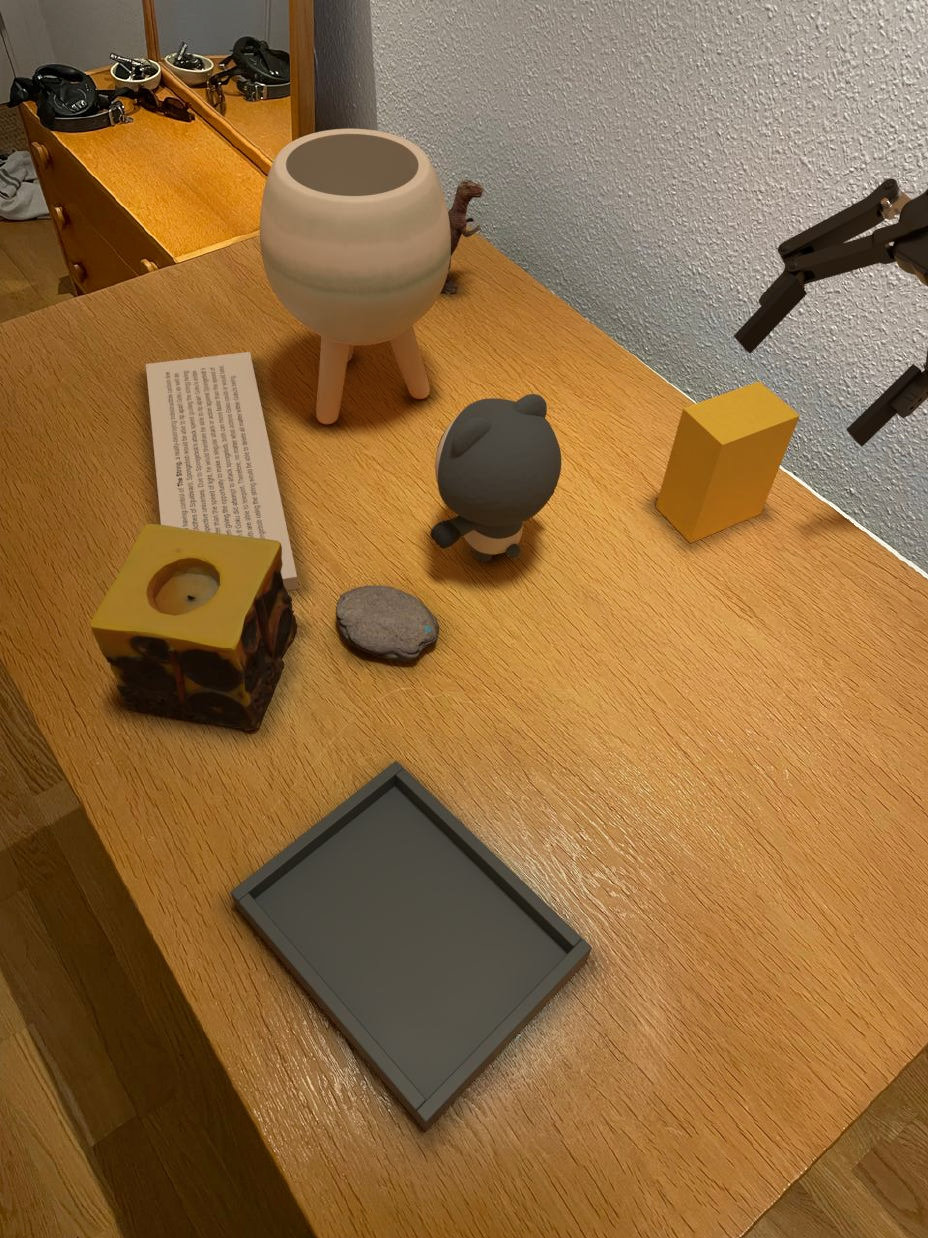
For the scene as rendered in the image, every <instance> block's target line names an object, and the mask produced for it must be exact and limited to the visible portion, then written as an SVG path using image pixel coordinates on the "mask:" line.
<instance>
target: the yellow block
mask: <svg viewBox="0 0 928 1238" xmlns="http://www.w3.org/2000/svg"><path fill="white" fill-rule="evenodd" d="M800 417H801V416H800V414H799V413H797V411H795V410H794V409H793V408H792V407H791V406H790V405H788V404H787V403H786V402H784V401H783V400H782V399H781V398H780V397H779V396H777V395H776V394H775V393H774V392H773V391H772V390H770V389H769V388H768V387H767V386H766V385H764V383H762V382H761V381H755V382H753V383H750V384H748V385H744V386H742V387H738V388H736V389H734V390H730V391H728V392H725V393H721V394H719V395H716V396H713V397H711V398H708V399H705V400H702V401H699V402H697V403H694V404H691V405H688V406H685V407H683V408H682V411H681V414H680V418H679V422H678V425H677V429H676V433H675V437H674V440H673V443H672V447H671V451H670V455H669V458H668V461H667V464H666V468H665V472H664V476H663V479H662V483H661V487H660V490H659V494H658V498H657V501H656V503H655V504H656V505H655V508H656V509H657V510H658V511H659V512H660V513H661V514H662V516H664V518H665V519H666V520H667V521H668V522H669V523H670V524H671V525H672V526H673V528H675V529H676V530H677V531H678V532H679V533H680V535H681V536H683V538H685V540H686V541H687V542H688V543H689V544H692V543H694V542H696V541H699V540H702V539H704V538H706V537H709V536H712V535H714V534H716V533H718V532H720V531H723V530H725V529H728V528H731V527H732V526H735V525H738V524H740V523H743V522H745V521H747V520H749V519H752V518H754V517H757V516H759V515H762V512H763V509H764V507H765V504H766V502H767V499H768V497H769V494H770V492H771V490H772V487H773V485H774V482H775V480H776V477H777V474H778V472H779V470H780V467H781V464H782V462H783V459H784V457H785V455H786V452H787V450H788V448H789V445H790V442H791V440H792V437H793V434H794V432H795V430H796V427H797V424H798V422H799V420H800Z"/></svg>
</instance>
